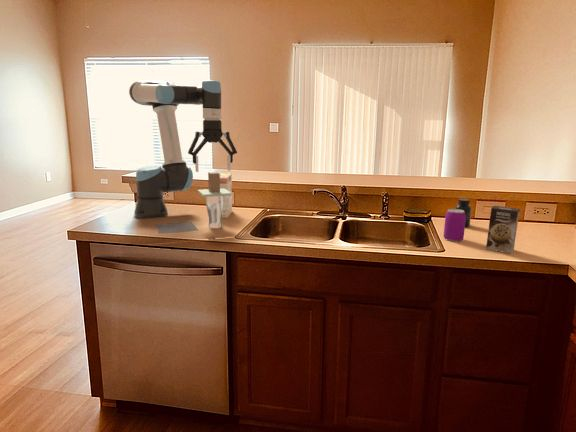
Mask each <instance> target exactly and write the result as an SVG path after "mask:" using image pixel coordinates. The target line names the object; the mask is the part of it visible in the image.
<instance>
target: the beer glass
mask: <svg viewBox="0 0 576 432" xmlns="http://www.w3.org/2000/svg"><path fill="white" fill-rule="evenodd" d="M205 198H206V199H205V200H206V202H205V203H206V211H207V212H206V213H207V216H208V224H207V227H208V228H209V229H221V228H222V227H223V223H222V218H221V215H222V208H223V199H222V196H213V197H205Z"/></svg>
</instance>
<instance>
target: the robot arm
mask: <svg viewBox="0 0 576 432" xmlns="http://www.w3.org/2000/svg"><path fill="white" fill-rule="evenodd" d="M221 86H222V85H221V82H220V81H219V80H213V79H212V80H211V79H208V80H207V79H206V80H205V79H204V80H203V81H202V83H201V85H185V84H184V85H183V84H182V85H181V84H175V83H174V82H171V81H166V80H146V79H145V80H143V79H142V80H137V81H134V82H132V84H131V85H130V87H129V89H128V93H129V94H128V95H129V97H130V99H131V100H132V101H133V102H134V103H136V104H138V105H141V106H149V107H151V106H152V111H153V112H155V113H156V117H157V121H158V122H157V123H158V129H159V136H160V140H161V148H162V153H163V160H164V162H163V164H162V165H161V166H160V165H149V166H145V167H141V168H139V169H137V170H136V172H135V175H136V177H135V182H136V193H137V195H136V196H137V202H136V206H135V210H134V217H135V218H137V219H142V220H143V219H157V218H164V217H167V216H168V215H169V212H168V208H167V205H166V203H165V200H164V193H172V192H182V191H187V190H189V189H190V188H191V186H192V184H193V179H194V176H193V174H194V173H193V170H192V168H191V167H190V166H188V165H187V162H186V161H185V160H184V159H183V156H182V155H183V154H182V149H181V143H180V136H179V131H178V124H177V118H176V111H177V109H178V106H179V105H194V106H195V105H196V106H197V105H198V106H199V105H202V118H203V121H202V131H195V136H194V138H193V140H192V143H191V145H190V147H189V149H188V151H187V154H189V155H191V156H192V164H194V165H195V167H194V168H195V172H196V173H199V156H198V154H199V153H200V151H201V150H202V149H203V147H204V146H205V145H207V143H210V144H211V143H219V144H220V145H221V146H222V147H223V149H224V150H225V151H226V152H227V155H226V161H227V162H226V165H227V166H226V167H227V168H226V170H227V171H229V172H230V171H232V170H231V169H232V168H231V163H233V162H234V161H233V157H234V156H233V155H235V154H237V153H238V151H237V150H236V149H237V148H236V147H235V145H234V143H233V140H232V139H231V137H230V132H229V131H227V130H226V131H223V130H222V129H223V126H222V120H221V119H222V87H221ZM201 137H203V139H202V141H201V142H200V143H199V145H197V144H198V140H199V139H200V138H201ZM222 137H224V138H225V139H226V141H227V143H228V145H229V147H230V148H229V147H228V146H227V145H226V143H225V142H224V141H223V140H222ZM196 146H197V147H196ZM195 147H196V148H195Z"/></svg>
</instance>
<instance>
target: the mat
mask: <svg viewBox="0 0 576 432" xmlns="http://www.w3.org/2000/svg"><path fill="white" fill-rule="evenodd" d="M155 228H156V230H157V233H158V234H160V235H161V234H174V233H182V232H183V233H185V232H186V233H187V232H194V231H199V229H198V228H197V226H196V225H195V223H194V222H193V221H181V222H171V223H170V222H169V223H156V224H155Z"/></svg>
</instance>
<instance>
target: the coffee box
mask: <svg viewBox="0 0 576 432" xmlns="http://www.w3.org/2000/svg"><path fill="white" fill-rule="evenodd" d="M520 211H521V209H520V208H517V207H509V206H500V205H493V206H492V207H491V210H490V218H489V223H488V224H489V225H488V231H487V238H486V246H485V250H487V249H490V250H489V251H493V250H497V251H496V252H498V251H503V252H502V253H504V252H509V253H508V254H510V253H512V254H513V253H514V251H513V250H515V245H516V244H515V243H516V238H517V237H516V236H517V229H518V223H519V218H520Z"/></svg>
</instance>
